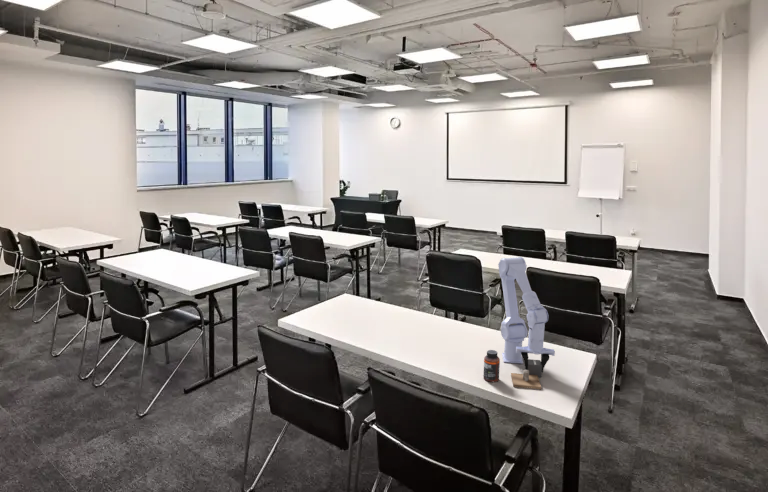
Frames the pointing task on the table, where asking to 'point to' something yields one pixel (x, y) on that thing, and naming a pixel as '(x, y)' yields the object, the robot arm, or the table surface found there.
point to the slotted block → (535, 367)
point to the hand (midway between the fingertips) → (533, 370)
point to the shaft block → (525, 380)
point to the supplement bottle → (491, 366)
